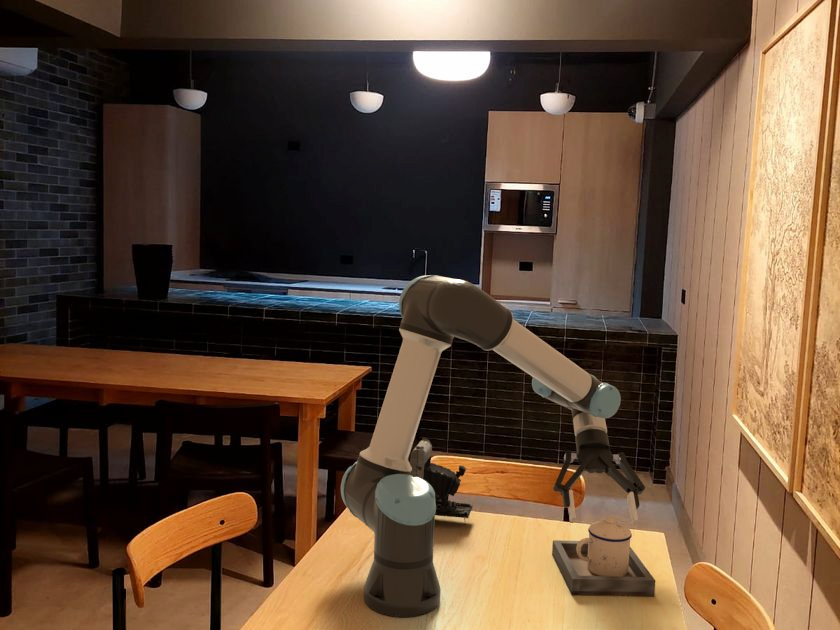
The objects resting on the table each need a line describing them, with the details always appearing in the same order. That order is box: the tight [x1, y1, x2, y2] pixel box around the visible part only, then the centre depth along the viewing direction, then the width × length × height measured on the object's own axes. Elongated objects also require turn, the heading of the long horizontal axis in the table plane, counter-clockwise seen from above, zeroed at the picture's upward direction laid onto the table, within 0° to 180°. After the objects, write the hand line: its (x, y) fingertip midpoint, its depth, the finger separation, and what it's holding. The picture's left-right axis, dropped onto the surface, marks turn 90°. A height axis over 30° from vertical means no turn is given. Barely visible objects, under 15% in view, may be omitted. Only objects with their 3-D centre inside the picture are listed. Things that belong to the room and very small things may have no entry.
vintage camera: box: [409, 438, 474, 521], centre depth 188 cm, size 10×15×20 cm, turn 78°
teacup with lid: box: [576, 516, 633, 577], centre depth 162 cm, size 12×9×12 cm
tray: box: [551, 539, 656, 598], centre depth 163 cm, size 17×19×4 cm
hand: (603, 521), depth 165 cm, fingers open, 13 cm apart
